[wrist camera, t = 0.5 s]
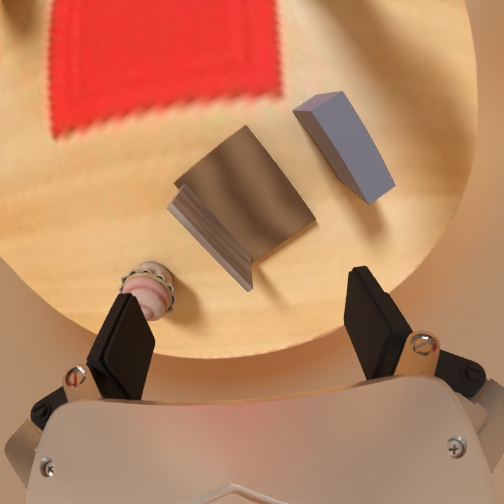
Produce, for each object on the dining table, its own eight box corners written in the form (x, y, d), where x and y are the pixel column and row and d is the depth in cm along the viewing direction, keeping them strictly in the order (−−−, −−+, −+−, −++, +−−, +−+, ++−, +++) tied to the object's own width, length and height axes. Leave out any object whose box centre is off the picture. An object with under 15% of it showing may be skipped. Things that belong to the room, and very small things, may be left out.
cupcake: (183, 257, 42) (170, 297, 33) (180, 303, 46) (169, 346, 38) (127, 247, 41) (103, 284, 32) (129, 293, 45) (110, 333, 36)
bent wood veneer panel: (245, 124, 33) (247, 129, 25) (313, 214, 40) (332, 245, 31) (176, 180, 36) (157, 203, 28) (247, 259, 43) (250, 298, 34)
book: (316, 94, 31) (342, 91, 23) (361, 166, 36) (395, 185, 27) (292, 110, 32) (310, 111, 24) (339, 180, 37) (368, 204, 29)
